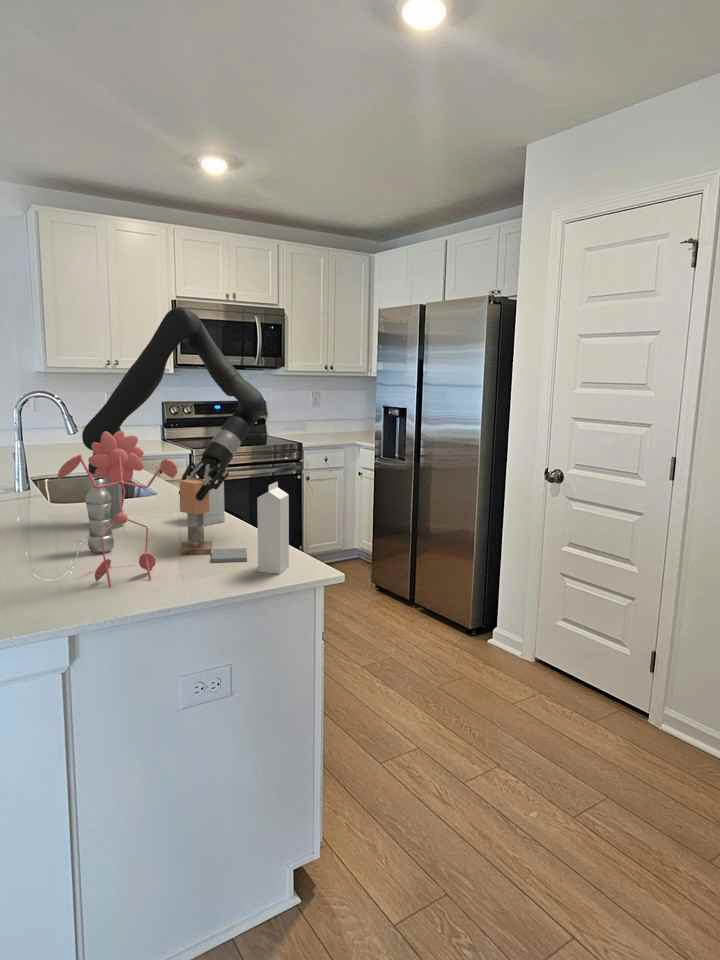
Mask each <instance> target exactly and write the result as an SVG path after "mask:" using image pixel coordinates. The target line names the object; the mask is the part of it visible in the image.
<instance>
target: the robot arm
mask: <svg viewBox="0 0 720 960" xmlns="http://www.w3.org/2000/svg"><path fill="white" fill-rule="evenodd" d="M181 343H184V344H186V345H188V347H190V348H191V349H192V350H193V351H194V352H195V353H196V354H197V355H198V357H200V360H201V361H202V362H203V364H204V366H205V368H206V370H207V372H208V374H209V375H210V377H211V378H212V380H213V381H214V382H215V383H216V385H217V386H218V387H219V388H220V389H221V391H222V392H223V393H224V394H225V395H226V396H227V397H234V399H236V400H237V402H238V405H237V407H236V409H235V411H234V413H232V414H231V416H230V417H228V418H227V420H226V421H225V422H224V424H223V425H222V427H221V428H220V429H219V431H218V432H217V433H216V434H215V435H214V437H212V439H211V440H210V442H209V443H208V444H207V446H206V448H205V449H204V450H203V452H202V454H201V458H202V459H201V461H199V462H198V463H197V464H196V463H194V462H193V461H192V462H190V463H189V464H188V466H187V467H186V468H185V471H184V473H183V474H182V477H181V480H187V479H192V478H194V479H200V480H204V479H205V480H204V486H202V487H201V488H200V490H199V491H198V493H197V494H196V496H195V497H196V498H197V499H198V500H199V501H202V500H203V499H204V498H205V496H206V495H207V493H208V492H209V491H210V490H212V489H215V490H216V489H218V487H219V486H220V485H221V484H222V482H223V481H224V482H225V480H226V479H227V477H228V476H229V474H230V473H229V471H228V470H227V468H228V466H229V464H230V463H231V461H232V460H233V458H234V457H235V455H236V454H237V452H238V450H239V448H240V446H241V444H242V443H243V442H244V440H245V438H246V437H247V436H248V433H249V431H250V430H251V429H252V428H253V426H255V425H256V423H257V421H258V420H259V419H260V417H261V415H262V413H263V410H264V409H265V403H266V402H265V398H264V397H263V395H262V393H261V392H260V391H259V390H258V389H257V387H255V386H254V385H252V384H251V383H250V382H248V381H247V380H246V379H244V378H243V377H242V375H241V374H240V373H239V372H238V370H237V369H236V368H235V366H234V365H233V364H232V363H231V362H230V361H229V359H228V358H227V357H226V356H225V354H223V353H222V351H221V350H220V348H219V347H218V345H217V344H216V343H215V341H214V340H213V338H212V337H211V335H210V333H209V331H208V329H206V326H205V325H204V322H203V321H202V320H201V318H200V317H199V316H198V315H197V314H196V313H194V312H192V311H190V310H188V309H187V308H184V307H174V308H172V309H170V310H169V311H168V312H167V313H166V314H165V315H164V317H163V318H162V321H160V324H159V325H158V327H157V329H156V330H155V332H154V334H153V336H152V337H151V339H150V340H149V342H148V344H146V346H145V348H144V349H143V350H142V352H141V353H140V355H139V356H138V357H137V359H136V360H135V361H134V363H133V364H132V365H131V366H130V368H129V369H128V370H127V371H126V373H125V374H124V376H123V377H122V379H121V381H119V383H118V385H117V386H116V388H115V389H114V391H113V392H112V393H111V395H110V396H109V398H108V399H107V401H106V402H105V404H104V405H103V406H102V408H100V410H99V411H98V412H97V413H96V414H95V415H94V416H93V417H92V418H91V419H90V421H88V423H87V424H85V426H84V428H83V429H82V434H81V438H82V443H83V445H84V447H86V448H87V449H88V450H89V451H92V447H91V446H92V443H94V442H97V443H101V436H102V433H103V432H106V431H107V432H109V433H110V434H111V435H112V436H113V435H114V434H115V433H116V432H118V431H122V429H121V426H122V425H123V423H124V422H125V421H126V419H127V418H128V417H130V415H132V414H133V413H134V412H135V411H136V410H138V409H139V408H140V407H141V406H142V405H143V404H144V403H145V402H146V401H148V400H149V398H150V397H151V396H152V395H153V393H154V392H155V390H156V389H157V388H158V386H159V385H160V383H161V381H162V380H163V377H164V374H165V370H166V366H167V364H168V360H169V359H170V356H171V355H172V354H173V352H174V350H175V349H176V348H177V347H178V346H179V345H180V344H181ZM93 455H95V454H94V452H93V451H92V456H93ZM87 465H88V466H87V469H88V470H89V472H90V474H91V476H92V478H98V477H96V476H95V470H96V469H97V467H95V466H93V465H91V464H90V463H89V462H88V464H87ZM196 476H198V477H199V478H197V477H196ZM187 477H188V478H187ZM100 478H105V484H110V482H109V481H108V477H100ZM217 480H218V482H217V483H216V484H215V482H216V481H217ZM88 481H89V483H88V485H89V490H90V489H91V487H90V478H89V477H88ZM105 489H106V490H107V491H108V492H109V494H110V495H111V510H110V522H111V524H112V523H113V522H114V521H115V517H116V515H117V514H119V513H120V508H121V502H122V496H123V489H122V486H121V485H120V484H116V485H111V486H107V487H105ZM178 495H180V489H179V490H178ZM122 513H124V511H123V508H122ZM123 525H124V524H118V523H117V522H115V523H114V524H113V525H112V526H111V529H116V528H120V527H122V526H123Z"/></svg>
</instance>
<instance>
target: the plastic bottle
mask: <svg viewBox="0 0 720 960" xmlns="http://www.w3.org/2000/svg"><path fill="white" fill-rule="evenodd" d="M93 480H94V482H95V484H96V486H100V485H105V478H93ZM96 486H95V487H96ZM90 487H91V489H90ZM95 487H94V485H93V484H92V482H91V480H90V486H89V490H88V492H87V494H86V495H85V499H84V501H85V505H86V511H87V517H88V525H89V528H88V538H87V545H88V546H87V547H88V550H90V552H91V553H97V554H98V553H99V554H101V553H102V554H103V550H102V542H101V534H102V533H103V532H104V531H105V530H106V529H107V528H108V527H109V526H110V525H111V522H110V510H111V495H110V494H109V492H108V491H107V490H106V489H105V487H102V488H97V489H95ZM112 529H113V528H111V527H110V528H109V529H108V530H107V531H106V532H105V533H104V534H103V535H102V536H103V544H104V552H106V553H107V552H110V551H112V550H113V549H114V546H115V545H114V544H115V539H114V538H115V537H114V535H113V531H112Z"/></svg>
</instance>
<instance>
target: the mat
mask: <svg viewBox="0 0 720 960" xmlns="http://www.w3.org/2000/svg"><path fill="white" fill-rule="evenodd" d="M247 552H248V551H247V547H240V548H239V547H238V548H237V547H235V548H212V551H211V564H212V563H214V564H215V563H234V562H236V563H237V562H238V563H239V562H242V563H243V562H248V555H247V554H248V553H247Z"/></svg>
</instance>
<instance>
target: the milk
mask: <svg viewBox="0 0 720 960" xmlns="http://www.w3.org/2000/svg"><path fill="white" fill-rule="evenodd" d="M289 497H290V496H289V493H287V492H286V491H284V490H282V489H281V488H280V487H279V482H278V481H275V482H273V483H271V484H269V485H268V491H267V492H266V493H263V494H261V495H260V496H258V497H257V499H256V500H257V501H256V503H257V504H256V505H257V511H256V512H257V572H258V573H267V574H277V575H280V574H282V573H283V572H285V571H286V570H287V569H288V568H289V566H290V563H289V562H290V561H289V560H290V557H289V556H290V550H289V549H290V541H289V539H290V538H289V537H290V535H289V534H290V530H289V529H290V526H289V524H290V523H289V522H290V521H289V518H290V514H289V513H290V509H289V508H290V506H289V505H290V501H289V500H290V498H289Z"/></svg>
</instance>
